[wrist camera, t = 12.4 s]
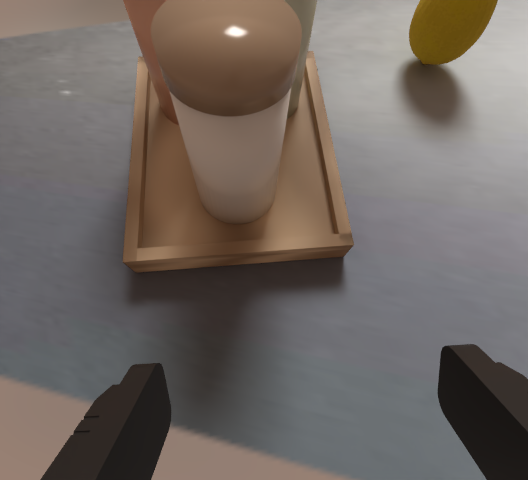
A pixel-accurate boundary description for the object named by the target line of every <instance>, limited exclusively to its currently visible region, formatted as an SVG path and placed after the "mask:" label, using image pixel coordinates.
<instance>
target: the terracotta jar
mask: <svg viewBox="0 0 528 480" xmlns="http://www.w3.org/2000/svg"><path fill="white" fill-rule="evenodd" d="M123 1H124V4H125V7H126V10H127V12H128V15H129V18H130V21H131V24H132V27H133V29H134V32H135V35H136V38H137V41H138V44H139V46H140V49H141V52H142V55H143V58H144V61H145V63H146V66H147V69H148V72H149V75H150V78H151V80H152V83H153V86H154V89H155V92H156V95H157V97H158V100H159V103H160V106H161V109H162V111H163V113H164V115H165V116H166V117H167V118H168V119H169V120H170V121H171V122H173V123H174V124H177V125H179V123H178V119H177V116H176V112H175V109H174V105H173V102H172V98H171V95H170V91H169V89H168V88H167V86H166V84H165V82H164V79H163V76H162V73H161V69H160V66H159V62H158V59H157V56H156V52H155V49H154V46H153V42H152V38H151V24H152V21H153V18H154V15H155V14H156V12H157V10H158V9H159V8H160V7H161V6H162V4H163V3H165V2H166V1H167V0H123Z"/></svg>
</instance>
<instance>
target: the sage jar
mask: <svg viewBox="0 0 528 480" xmlns="http://www.w3.org/2000/svg"><path fill="white" fill-rule="evenodd" d="M284 1H285V2H286V3H287V4H288V5H289V6H290V7H291V8H292V9H293V10H294V12H295V13H296V15H297V17H298V19H299V21H300V24H301V29H302V38H301V45H300V51H299V57H298V64H297V70H296V76H295V80H294V83H293V85H292V87H291V93H290V100H289V106H288V113H287V119H288V118H289V117H291V116H292V115H293V114H294V113H295V111H296V109H297V107H298V104H299V98H300V93H301V87H302V82H303V76H304V70H305V65H306V59H307V54H308V48H309V43H310V37H311V31H312V26H313V20H314V15H315V9H316V4H317V0H284Z"/></svg>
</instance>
